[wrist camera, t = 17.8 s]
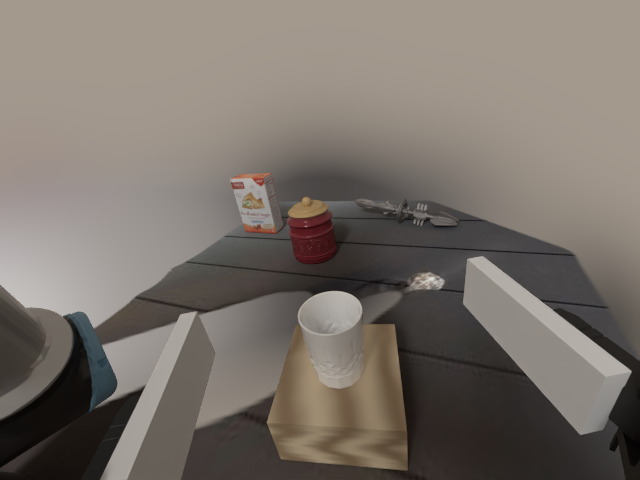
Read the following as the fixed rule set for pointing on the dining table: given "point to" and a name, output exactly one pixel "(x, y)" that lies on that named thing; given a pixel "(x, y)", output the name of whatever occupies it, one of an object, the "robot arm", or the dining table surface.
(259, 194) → the cracker box
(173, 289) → the dining table surface
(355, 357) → the white cup
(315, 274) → the dining table surface
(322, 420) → the riser block
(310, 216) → the canister
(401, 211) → the spaceship
